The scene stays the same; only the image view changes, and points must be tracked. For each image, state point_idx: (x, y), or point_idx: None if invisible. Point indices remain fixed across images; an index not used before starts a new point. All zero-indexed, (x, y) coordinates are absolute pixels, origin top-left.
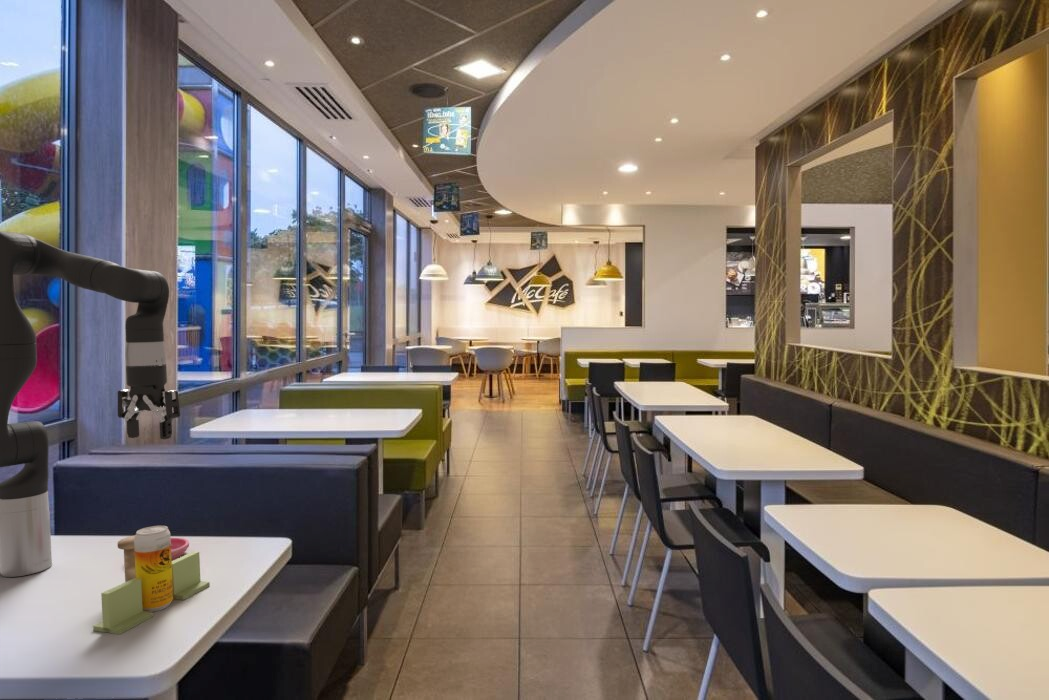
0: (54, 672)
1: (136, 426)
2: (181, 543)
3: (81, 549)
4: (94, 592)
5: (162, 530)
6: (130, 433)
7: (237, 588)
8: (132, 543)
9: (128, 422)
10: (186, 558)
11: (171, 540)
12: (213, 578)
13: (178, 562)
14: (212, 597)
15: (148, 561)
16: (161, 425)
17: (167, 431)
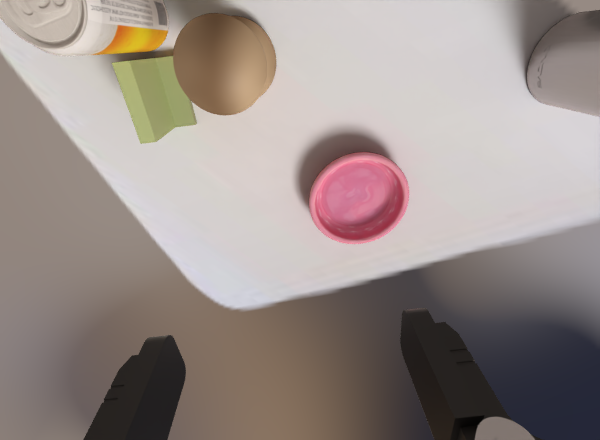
0: None
1: (427, 401)
2: (347, 234)
3: (538, 174)
4: (323, 24)
5: (20, 18)
6: (415, 328)
7: (90, 138)
8: (200, 37)
9: (468, 405)
10: (127, 105)
11: (370, 234)
12: (173, 157)
13: (118, 80)
14: (87, 91)
15: None
16: (110, 425)
17: (110, 391)
